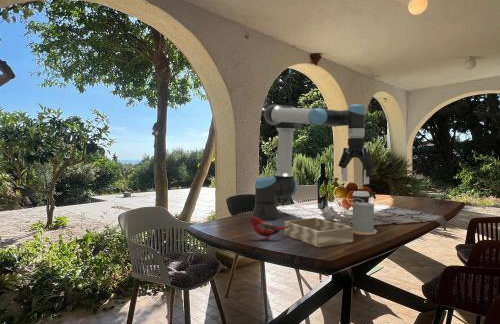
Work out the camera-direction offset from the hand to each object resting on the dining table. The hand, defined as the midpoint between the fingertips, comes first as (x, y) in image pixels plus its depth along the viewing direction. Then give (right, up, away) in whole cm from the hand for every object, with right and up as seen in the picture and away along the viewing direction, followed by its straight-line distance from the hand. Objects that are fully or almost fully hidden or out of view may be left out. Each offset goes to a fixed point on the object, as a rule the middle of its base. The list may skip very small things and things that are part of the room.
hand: (355, 182), depth 162 cm
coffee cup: (+13, -22, +32) cm, 41 cm away
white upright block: (+3, -22, -2) cm, 23 cm away
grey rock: (-7, -23, +25) cm, 34 cm away
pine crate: (-20, -23, -12) cm, 33 cm away
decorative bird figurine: (-42, -24, -16) cm, 51 cm away
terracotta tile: (+3, -23, -2) cm, 23 cm away
